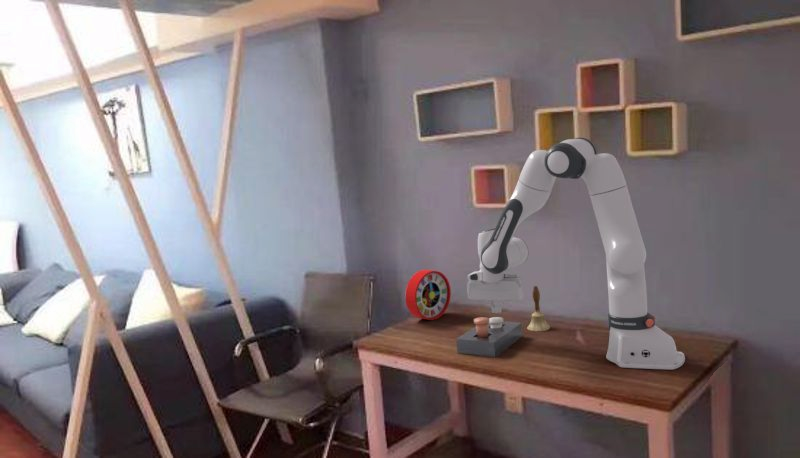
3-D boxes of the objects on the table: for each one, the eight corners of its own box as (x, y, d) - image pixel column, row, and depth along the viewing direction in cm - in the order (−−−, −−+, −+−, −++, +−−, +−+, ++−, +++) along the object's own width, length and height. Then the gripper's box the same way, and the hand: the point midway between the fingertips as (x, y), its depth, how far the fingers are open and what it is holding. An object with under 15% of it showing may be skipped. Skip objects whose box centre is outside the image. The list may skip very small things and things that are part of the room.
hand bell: (550, 331, 232) (547, 288, 230) (527, 332, 234) (524, 289, 232) (549, 324, 240) (547, 282, 238) (527, 325, 242) (524, 284, 240)
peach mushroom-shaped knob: (492, 334, 220) (491, 317, 219) (486, 338, 215) (485, 322, 215) (479, 332, 222) (477, 316, 222) (472, 337, 218) (471, 320, 217)
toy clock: (417, 325, 255) (412, 276, 253) (407, 323, 260) (403, 275, 257) (452, 313, 268) (448, 266, 266) (442, 311, 273) (438, 265, 270)
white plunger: (506, 333, 229) (505, 317, 228) (500, 337, 225) (499, 321, 224) (493, 332, 232) (492, 316, 231) (487, 336, 228) (485, 320, 227)
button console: (522, 336, 230) (521, 322, 229) (495, 357, 211) (493, 342, 210) (486, 332, 237) (485, 319, 237) (457, 353, 218) (456, 338, 218)
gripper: (524, 272, 222) (527, 311, 224) (471, 271, 234) (475, 308, 235) (516, 276, 217) (520, 316, 219) (463, 275, 229) (467, 313, 230)
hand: (496, 312), depth 227 cm, fingers closed
